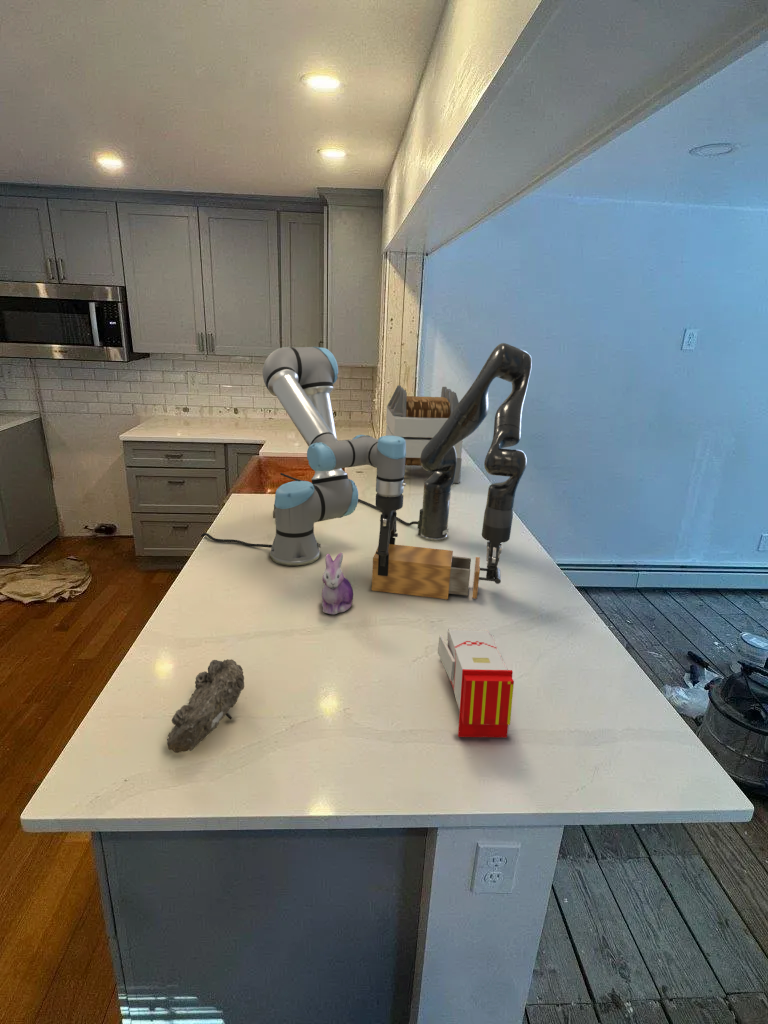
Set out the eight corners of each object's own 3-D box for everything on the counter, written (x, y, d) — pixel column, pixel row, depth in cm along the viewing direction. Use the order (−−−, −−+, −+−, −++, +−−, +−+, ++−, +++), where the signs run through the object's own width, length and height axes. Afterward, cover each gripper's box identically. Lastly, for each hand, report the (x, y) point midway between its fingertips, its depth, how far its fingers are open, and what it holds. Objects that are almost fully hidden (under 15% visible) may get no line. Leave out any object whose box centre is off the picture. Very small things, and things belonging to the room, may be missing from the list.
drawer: (497, 585, 164) (501, 559, 161) (498, 601, 154) (502, 574, 152) (407, 575, 167) (409, 549, 164) (403, 590, 158) (405, 563, 155)
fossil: (192, 660, 117) (244, 628, 112) (224, 691, 120) (276, 661, 115) (142, 746, 98) (202, 712, 93) (182, 779, 101) (242, 748, 96)
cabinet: (450, 581, 166) (453, 550, 163) (447, 599, 156) (451, 566, 153) (378, 573, 169) (379, 542, 166) (371, 590, 159) (372, 557, 156)
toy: (488, 613, 130) (523, 677, 101) (484, 667, 133) (517, 744, 104) (435, 612, 130) (455, 676, 101) (432, 666, 133) (451, 743, 103)
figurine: (327, 619, 143) (328, 565, 138) (313, 601, 152) (313, 549, 147) (361, 611, 147) (363, 559, 142) (345, 594, 156) (346, 544, 151)
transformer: (382, 463, 289) (386, 382, 275) (445, 464, 293) (451, 384, 279) (390, 482, 257) (394, 392, 243) (460, 483, 261) (468, 394, 247)
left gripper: (397, 508, 143) (393, 586, 151) (408, 482, 165) (404, 551, 172) (368, 505, 144) (365, 583, 152) (383, 480, 166) (380, 549, 173)
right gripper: (512, 532, 145) (504, 592, 151) (510, 515, 158) (502, 571, 164) (483, 529, 146) (475, 588, 152) (483, 512, 159) (476, 568, 165)
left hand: (386, 566), depth 162 cm, fingers closed on cabinet, 11 cm apart
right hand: (489, 579), depth 158 cm, fingers closed
